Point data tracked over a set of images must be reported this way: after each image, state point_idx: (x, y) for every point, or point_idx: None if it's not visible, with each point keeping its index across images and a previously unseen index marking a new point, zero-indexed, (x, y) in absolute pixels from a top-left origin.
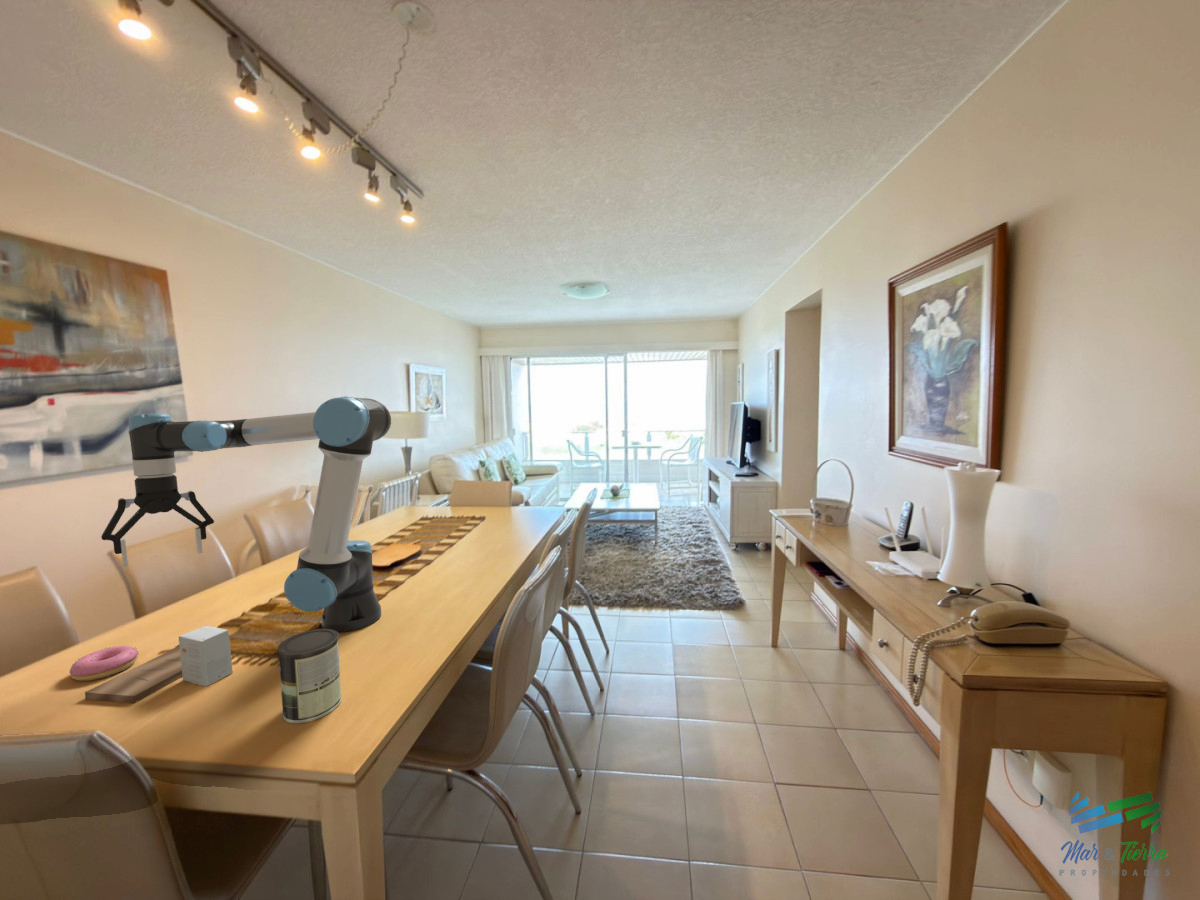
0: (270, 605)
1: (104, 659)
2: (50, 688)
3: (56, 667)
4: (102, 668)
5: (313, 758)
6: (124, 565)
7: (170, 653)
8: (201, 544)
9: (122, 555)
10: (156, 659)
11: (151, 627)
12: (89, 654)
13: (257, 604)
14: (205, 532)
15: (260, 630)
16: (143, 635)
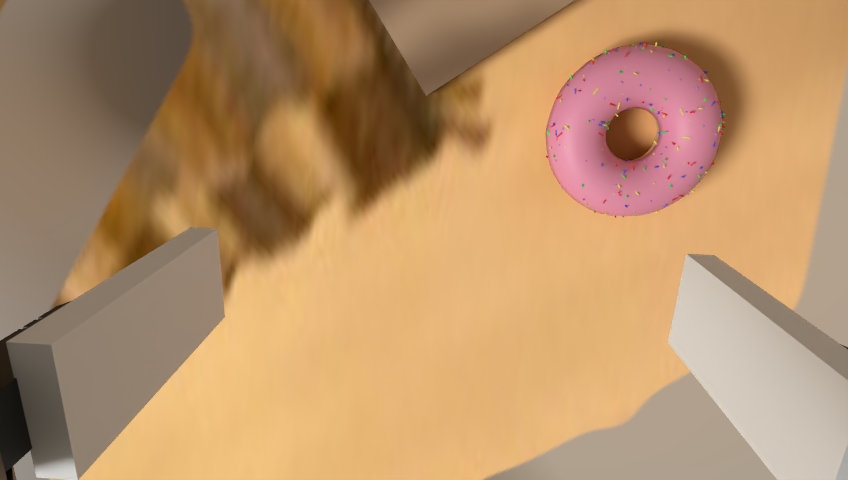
0: None
1: (650, 88)
2: (752, 116)
3: None
4: (657, 49)
5: None
6: (714, 261)
7: (472, 35)
8: (149, 254)
9: (775, 301)
10: (515, 15)
11: (467, 399)
12: (672, 183)
13: None
14: (16, 333)
15: (200, 47)
16: (496, 347)
